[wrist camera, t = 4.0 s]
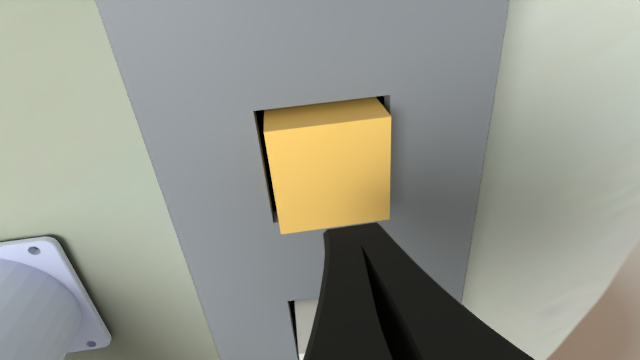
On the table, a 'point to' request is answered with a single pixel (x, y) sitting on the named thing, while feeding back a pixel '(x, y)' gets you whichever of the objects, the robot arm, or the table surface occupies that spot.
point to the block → (304, 321)
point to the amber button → (329, 163)
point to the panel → (294, 90)
